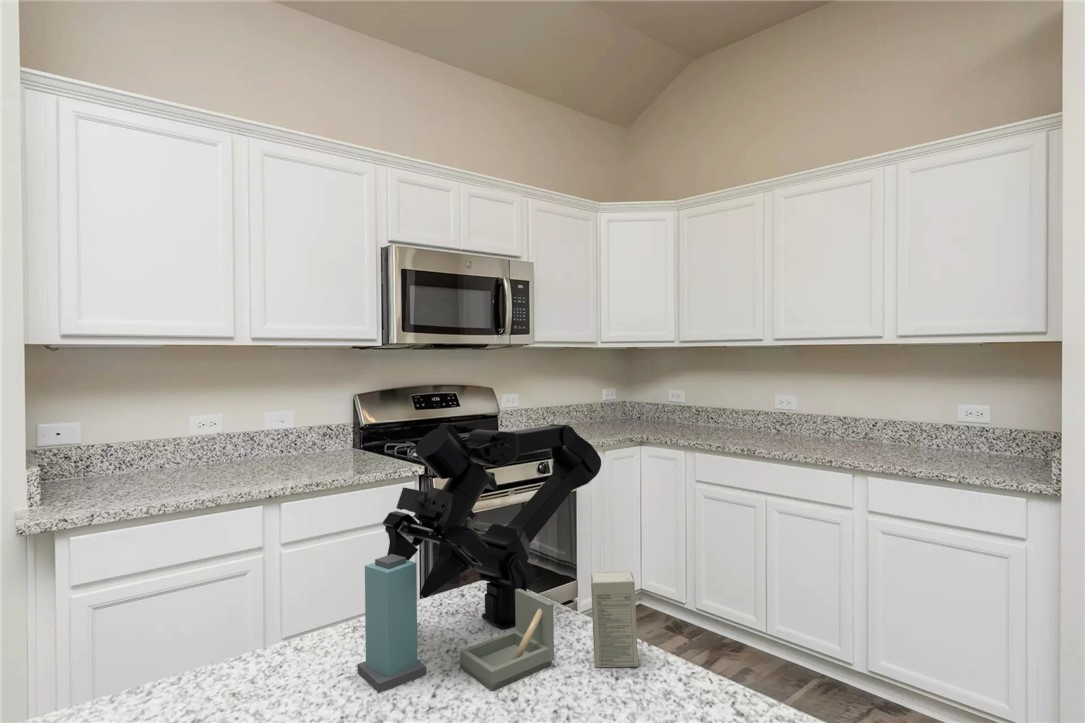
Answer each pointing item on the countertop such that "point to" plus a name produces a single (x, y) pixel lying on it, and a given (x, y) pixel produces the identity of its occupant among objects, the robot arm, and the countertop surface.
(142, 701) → the countertop surface
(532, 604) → the case
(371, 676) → the foam pad
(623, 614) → the skincare box
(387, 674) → the module
